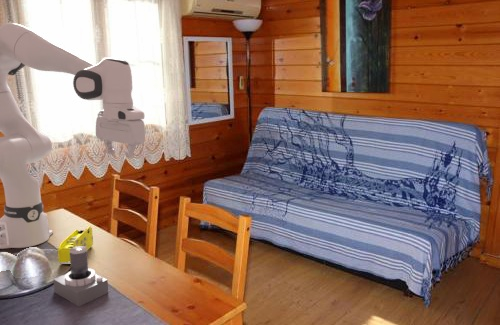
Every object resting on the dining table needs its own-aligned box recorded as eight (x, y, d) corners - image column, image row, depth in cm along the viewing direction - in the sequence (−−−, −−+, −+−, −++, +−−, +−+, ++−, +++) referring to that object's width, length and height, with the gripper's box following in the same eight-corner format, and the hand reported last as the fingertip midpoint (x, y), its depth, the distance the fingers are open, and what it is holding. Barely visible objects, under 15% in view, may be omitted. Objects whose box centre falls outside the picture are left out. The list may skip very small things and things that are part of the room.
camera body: (54, 292, 116) (52, 274, 114) (83, 279, 123) (82, 262, 122) (79, 306, 109) (77, 287, 108) (108, 292, 116) (107, 274, 115)
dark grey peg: (68, 279, 115) (66, 249, 113) (82, 274, 118) (80, 244, 116) (77, 284, 112) (75, 254, 110) (91, 278, 116) (90, 248, 114)
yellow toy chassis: (76, 267, 131) (74, 242, 129) (58, 266, 131) (56, 242, 129) (94, 246, 147) (93, 224, 145) (78, 246, 147) (76, 224, 145)
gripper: (89, 110, 130) (91, 153, 133) (131, 115, 119) (132, 161, 122) (106, 109, 135) (108, 150, 138) (148, 113, 124) (149, 158, 127)
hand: (120, 155), depth 130 cm, fingers open, 8 cm apart
